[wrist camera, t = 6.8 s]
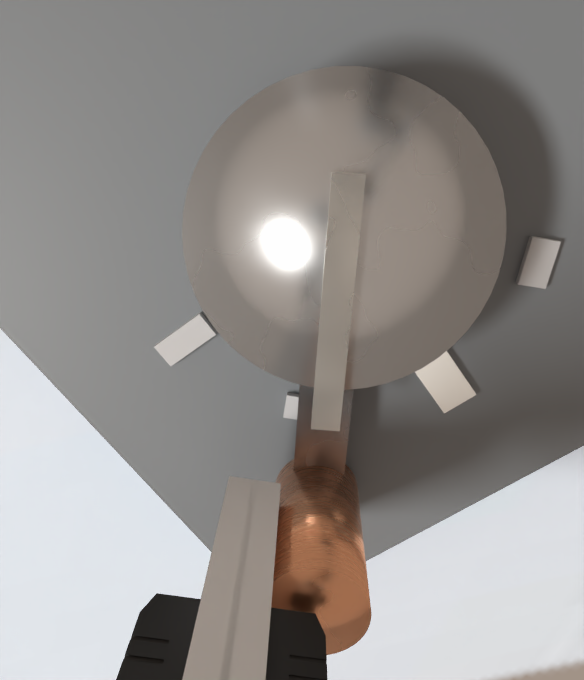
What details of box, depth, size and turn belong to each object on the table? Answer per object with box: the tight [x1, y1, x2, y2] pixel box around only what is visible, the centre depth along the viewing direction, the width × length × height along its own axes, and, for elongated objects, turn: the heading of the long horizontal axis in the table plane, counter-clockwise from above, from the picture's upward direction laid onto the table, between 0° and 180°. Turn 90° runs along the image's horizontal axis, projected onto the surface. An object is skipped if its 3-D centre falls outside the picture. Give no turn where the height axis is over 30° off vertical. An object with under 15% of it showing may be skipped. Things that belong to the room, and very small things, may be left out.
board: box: [0, 0, 584, 561], centre depth 15 cm, size 18×18×2 cm
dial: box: [182, 66, 506, 655], centre depth 12 cm, size 12×7×4 cm, turn 177°
